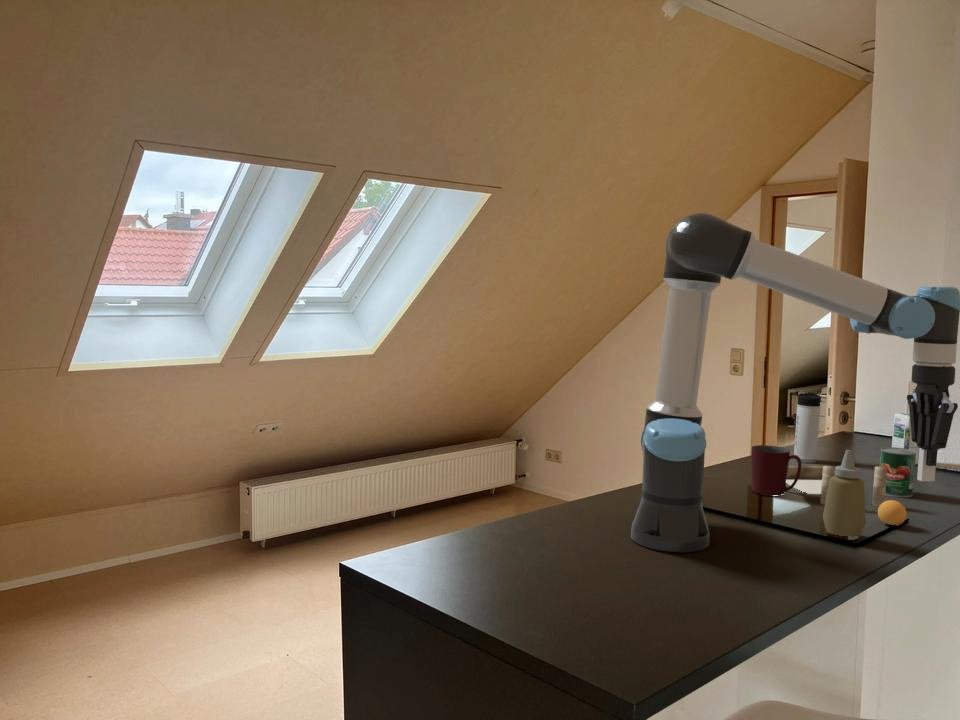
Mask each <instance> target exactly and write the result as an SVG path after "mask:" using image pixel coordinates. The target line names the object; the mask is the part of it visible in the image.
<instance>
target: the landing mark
mask: <svg viewBox="0 0 960 720" xmlns="http://www.w3.org/2000/svg"><path fill="white" fill-rule="evenodd" d="M794 480H795V479H786V484H787V485H789V487H790V486H791V485H792V483H793V482H794ZM793 489H795V490H797V489H798V490H797V491H799V490H800V491H799V492H801V491H802V492H801V493H803V492H806V493H807V494H806V495H820V494H821V489H822V479H798V481H797V483H796V484H795V486H794V487H793Z"/></svg>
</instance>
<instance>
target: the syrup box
mask: <svg viewBox="0 0 960 720" xmlns="http://www.w3.org/2000/svg"><path fill="white" fill-rule="evenodd" d="M891 447H896V448H904V449H910V450H913V451H916V460H915V465H918V452H919V447H918V446H917V443H916V442H912V437H911V424H910V413H906V412H898V413H894V417H893V427H892V441H891Z"/></svg>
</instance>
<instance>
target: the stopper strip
mask: <svg viewBox="0 0 960 720" xmlns="http://www.w3.org/2000/svg"><path fill="white" fill-rule="evenodd" d="M823 466H824V465H821V466H820V465H801V472H800V476H799V479H798V480H822V474H823ZM797 471H798V465H788V471H787V478H786V479H788V480H795V478H796V475H797Z"/></svg>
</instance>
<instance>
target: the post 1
mask: <svg viewBox="0 0 960 720" xmlns="http://www.w3.org/2000/svg"><path fill="white" fill-rule="evenodd" d="M822 466H823V474H822V479H821V480H822V489H821V495H820V503H825V502H826V496H827V491H828V485H829V480H830V478H831V477H833V476H836V475H835V467H836V466H831V465H822Z"/></svg>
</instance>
